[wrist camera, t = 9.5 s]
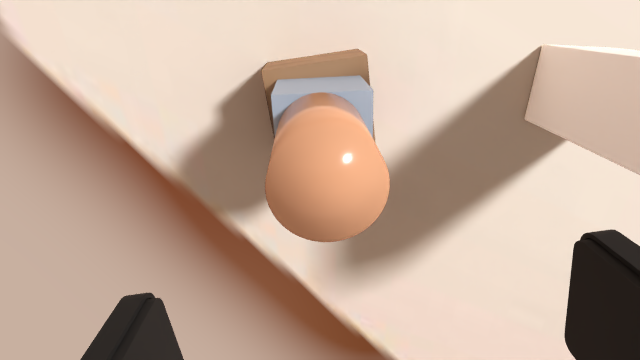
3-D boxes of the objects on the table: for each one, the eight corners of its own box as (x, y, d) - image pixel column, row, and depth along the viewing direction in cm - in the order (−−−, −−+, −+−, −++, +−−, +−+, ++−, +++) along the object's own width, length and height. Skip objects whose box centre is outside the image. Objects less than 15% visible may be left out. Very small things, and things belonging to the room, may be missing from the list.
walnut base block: (366, 135, 34) (376, 155, 29) (283, 148, 34) (280, 169, 29) (357, 48, 31) (367, 54, 26) (267, 62, 31) (261, 70, 26)
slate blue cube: (360, 153, 29) (372, 183, 24) (283, 157, 29) (279, 188, 24) (360, 75, 27) (373, 89, 22) (277, 79, 27) (270, 95, 22)
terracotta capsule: (370, 170, 24) (394, 232, 17) (285, 184, 24) (279, 250, 17) (360, 85, 22) (383, 117, 15) (268, 100, 22) (252, 139, 15)
